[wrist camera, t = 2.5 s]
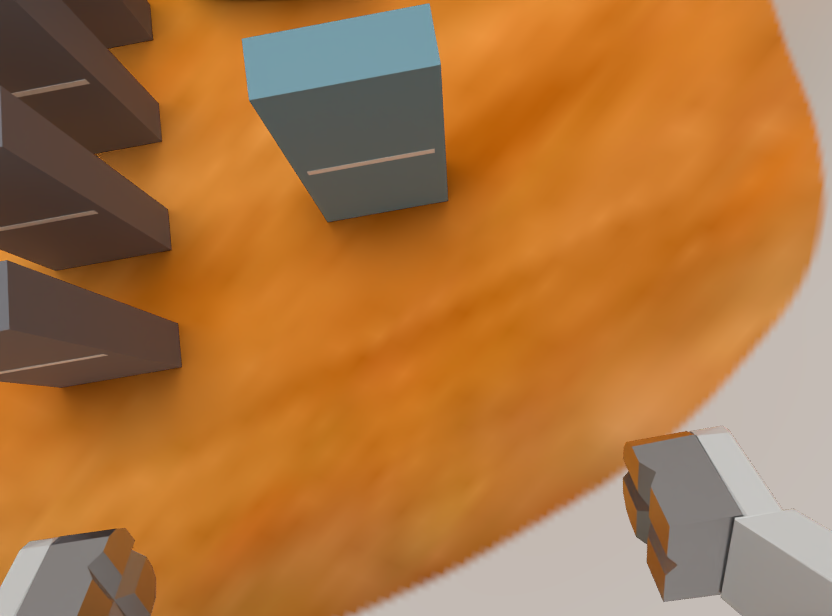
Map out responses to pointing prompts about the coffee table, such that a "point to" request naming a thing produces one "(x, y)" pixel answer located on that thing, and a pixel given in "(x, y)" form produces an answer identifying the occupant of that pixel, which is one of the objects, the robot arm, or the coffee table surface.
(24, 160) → the domino
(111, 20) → the domino
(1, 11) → the domino
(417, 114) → the domino
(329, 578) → the coffee table surface
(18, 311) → the domino
